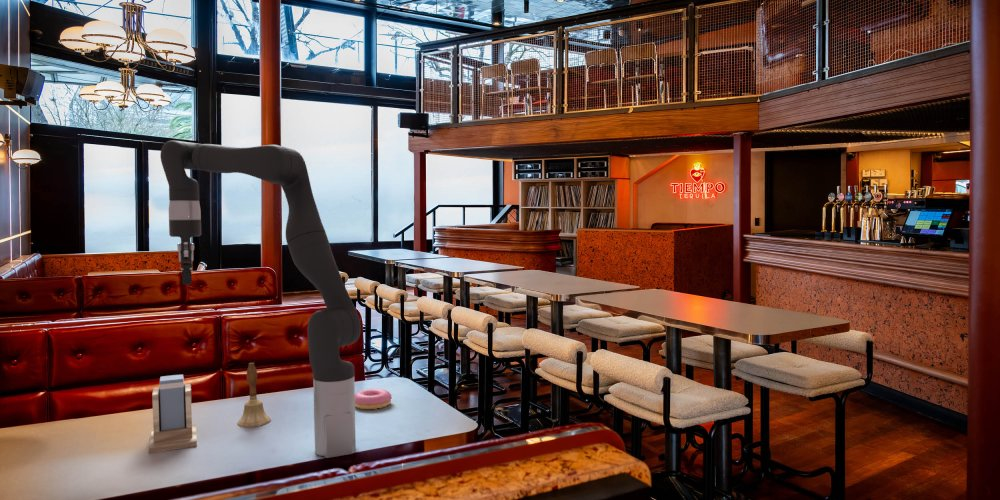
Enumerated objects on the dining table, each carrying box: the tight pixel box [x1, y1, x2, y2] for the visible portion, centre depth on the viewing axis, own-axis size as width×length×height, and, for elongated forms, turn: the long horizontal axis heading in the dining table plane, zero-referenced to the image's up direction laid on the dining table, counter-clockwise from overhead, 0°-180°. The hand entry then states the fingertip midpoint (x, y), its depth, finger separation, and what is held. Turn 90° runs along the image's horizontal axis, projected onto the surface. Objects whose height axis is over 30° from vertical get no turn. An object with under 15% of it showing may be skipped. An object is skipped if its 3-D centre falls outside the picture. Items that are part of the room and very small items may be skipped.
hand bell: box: [237, 362, 271, 428], centre depth 170 cm, size 8×8×16 cm
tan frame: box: [148, 383, 198, 454], centre depth 156 cm, size 14×10×13 cm
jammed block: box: [159, 374, 185, 431], centre depth 156 cm, size 5×5×14 cm
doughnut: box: [355, 388, 392, 410], centre depth 185 cm, size 11×11×4 cm
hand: (187, 284), depth 168 cm, fingers closed
